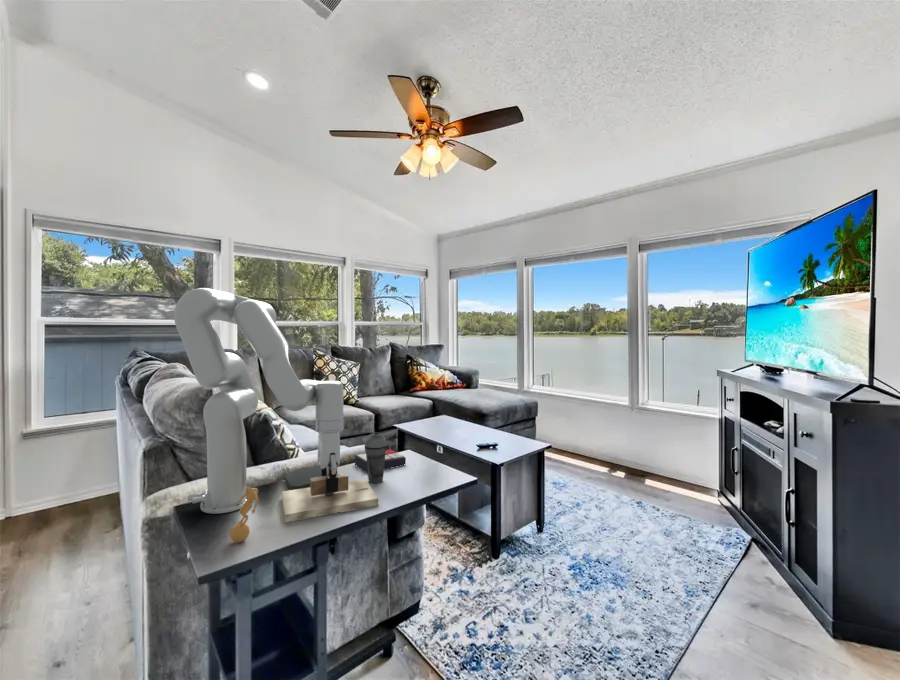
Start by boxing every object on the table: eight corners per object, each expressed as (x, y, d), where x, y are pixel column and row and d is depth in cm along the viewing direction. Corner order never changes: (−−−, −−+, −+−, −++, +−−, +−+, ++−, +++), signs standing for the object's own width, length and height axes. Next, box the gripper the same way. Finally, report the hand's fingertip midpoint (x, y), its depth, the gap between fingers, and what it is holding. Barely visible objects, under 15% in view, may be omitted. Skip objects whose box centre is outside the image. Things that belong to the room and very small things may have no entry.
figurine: (223, 538, 93) (223, 487, 93) (250, 528, 97) (250, 480, 97) (237, 551, 87) (238, 497, 87) (265, 540, 92) (265, 489, 92)
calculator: (406, 455, 145) (368, 461, 136) (405, 467, 145) (367, 474, 136) (391, 448, 154) (355, 453, 145) (390, 459, 154) (354, 465, 145)
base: (285, 522, 101) (285, 514, 101) (281, 496, 117) (281, 488, 117) (378, 505, 111) (378, 497, 111) (363, 483, 127) (363, 476, 127)
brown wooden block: (311, 499, 110) (311, 481, 109) (310, 495, 112) (310, 477, 112) (348, 493, 114) (348, 475, 114) (346, 489, 116) (346, 472, 116)
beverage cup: (384, 485, 125) (385, 422, 125) (361, 485, 125) (362, 422, 125) (388, 477, 132) (389, 417, 132) (367, 476, 133) (367, 417, 132)
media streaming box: (283, 479, 131) (283, 470, 131) (328, 472, 138) (328, 463, 138) (290, 495, 118) (290, 485, 118) (340, 486, 125) (340, 476, 125)
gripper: (312, 419, 119) (312, 478, 119) (319, 433, 103) (319, 500, 103) (337, 417, 122) (337, 474, 122) (349, 430, 106) (349, 495, 107)
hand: (329, 486), depth 113 cm, fingers open, 7 cm apart
